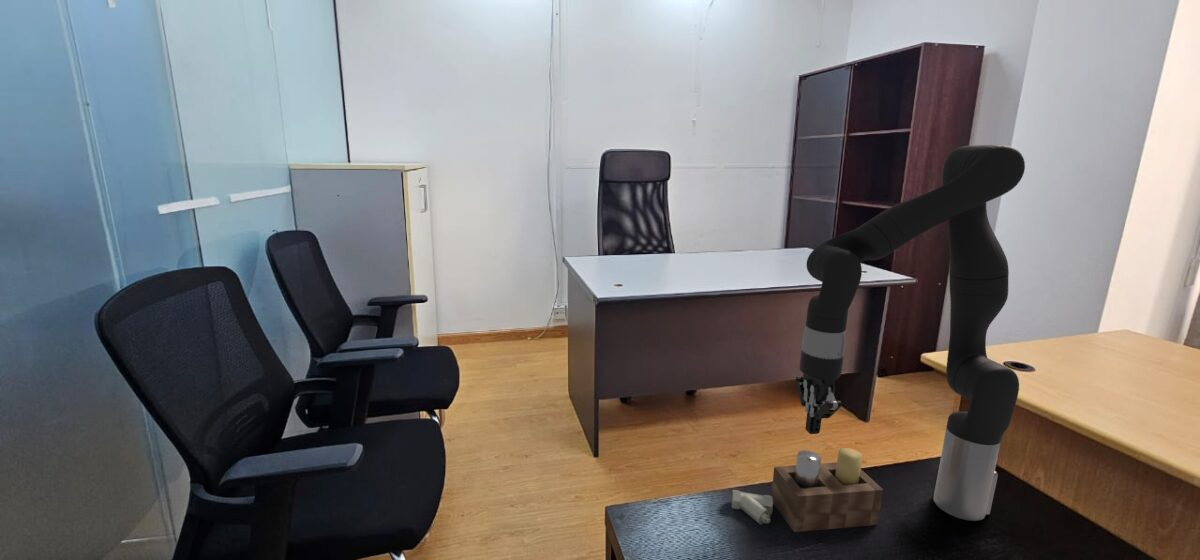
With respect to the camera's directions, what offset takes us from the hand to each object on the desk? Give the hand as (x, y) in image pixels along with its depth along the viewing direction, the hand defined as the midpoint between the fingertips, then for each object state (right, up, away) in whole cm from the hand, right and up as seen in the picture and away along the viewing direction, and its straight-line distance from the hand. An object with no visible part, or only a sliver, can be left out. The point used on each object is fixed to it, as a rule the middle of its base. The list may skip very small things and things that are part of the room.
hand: (812, 432), depth 103 cm
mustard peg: (+9, -13, +4) cm, 16 cm away
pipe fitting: (-11, -19, +4) cm, 22 cm away
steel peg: (0, -13, +3) cm, 14 cm away
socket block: (+4, -18, +5) cm, 19 cm away
